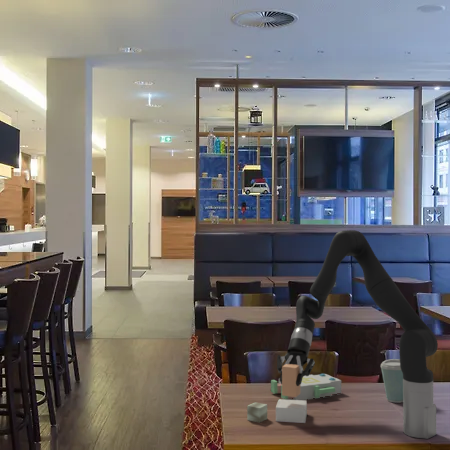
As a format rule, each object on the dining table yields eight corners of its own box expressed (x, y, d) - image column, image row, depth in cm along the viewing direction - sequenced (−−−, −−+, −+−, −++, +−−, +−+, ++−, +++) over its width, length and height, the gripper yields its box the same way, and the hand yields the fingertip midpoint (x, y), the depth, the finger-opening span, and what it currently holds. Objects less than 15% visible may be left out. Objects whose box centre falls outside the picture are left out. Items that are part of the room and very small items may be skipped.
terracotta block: (300, 393, 203) (300, 364, 203) (295, 397, 198) (295, 368, 198) (286, 391, 205) (286, 363, 205) (282, 395, 200) (282, 366, 201)
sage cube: (267, 419, 200) (267, 404, 200) (259, 422, 196) (259, 408, 196) (255, 416, 203) (255, 402, 203) (247, 420, 199) (247, 405, 199)
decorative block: (320, 370, 245) (347, 381, 227) (320, 385, 245) (347, 397, 227) (266, 376, 236) (290, 388, 217) (266, 391, 235) (290, 405, 217)
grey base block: (306, 414, 205) (306, 400, 205) (305, 423, 195) (305, 408, 196) (278, 413, 207) (278, 399, 207) (275, 422, 197) (275, 407, 197)
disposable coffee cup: (399, 406, 214) (399, 365, 214) (375, 400, 222) (374, 361, 222) (415, 400, 221) (414, 361, 221) (390, 395, 229) (390, 357, 229)
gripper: (279, 335, 212) (267, 375, 201) (317, 338, 205) (307, 380, 194) (284, 347, 216) (272, 387, 205) (321, 350, 210) (311, 392, 199)
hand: (289, 383), depth 200 cm, fingers closed on terracotta block, 5 cm apart
